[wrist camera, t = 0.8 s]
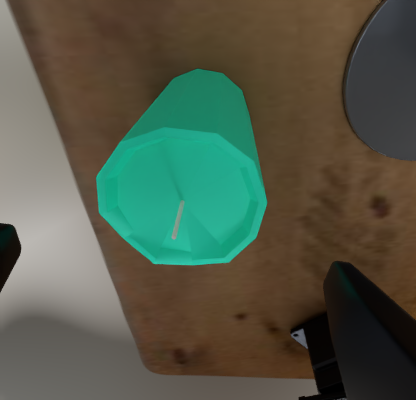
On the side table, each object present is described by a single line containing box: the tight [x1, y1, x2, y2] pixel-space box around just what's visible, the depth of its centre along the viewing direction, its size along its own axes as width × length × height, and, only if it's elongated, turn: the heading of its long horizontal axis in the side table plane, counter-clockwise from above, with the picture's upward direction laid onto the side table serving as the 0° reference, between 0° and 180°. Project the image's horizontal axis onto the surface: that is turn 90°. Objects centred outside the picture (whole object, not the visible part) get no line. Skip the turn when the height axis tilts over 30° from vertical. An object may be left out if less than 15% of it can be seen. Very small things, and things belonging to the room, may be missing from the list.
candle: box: [96, 69, 267, 265], centre depth 14 cm, size 6×6×12 cm
